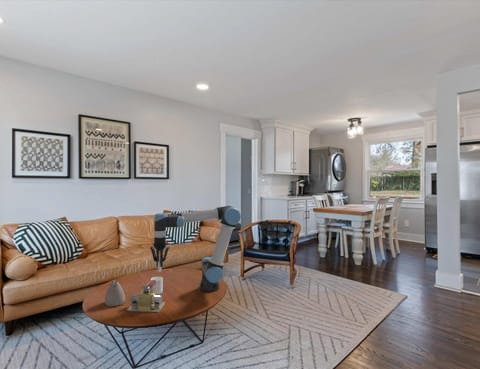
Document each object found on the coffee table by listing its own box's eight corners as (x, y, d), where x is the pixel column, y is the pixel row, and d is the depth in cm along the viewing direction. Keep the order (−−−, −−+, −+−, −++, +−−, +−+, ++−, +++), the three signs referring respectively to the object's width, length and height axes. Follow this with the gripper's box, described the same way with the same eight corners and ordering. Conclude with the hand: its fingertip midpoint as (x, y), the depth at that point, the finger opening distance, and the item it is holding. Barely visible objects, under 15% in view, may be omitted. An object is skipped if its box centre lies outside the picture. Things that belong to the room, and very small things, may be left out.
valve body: (164, 303, 184) (165, 288, 183) (158, 312, 172) (158, 296, 171) (135, 302, 185) (135, 287, 185) (127, 310, 173) (127, 295, 173)
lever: (148, 292, 176) (148, 288, 176) (142, 292, 176) (142, 288, 176) (157, 283, 191) (157, 279, 191) (151, 283, 191) (151, 279, 191)
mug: (147, 297, 193) (147, 282, 192) (143, 293, 199) (143, 279, 199) (164, 293, 200) (164, 279, 199) (160, 289, 206) (160, 275, 206)
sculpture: (101, 307, 177) (101, 284, 177) (108, 299, 189) (108, 277, 189) (122, 306, 178) (122, 283, 178) (128, 298, 190) (128, 277, 190)
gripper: (171, 235, 189) (170, 269, 190) (152, 235, 190) (152, 269, 190) (167, 238, 182) (167, 273, 182) (148, 237, 182) (147, 272, 183)
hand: (159, 271), depth 186 cm, fingers closed
